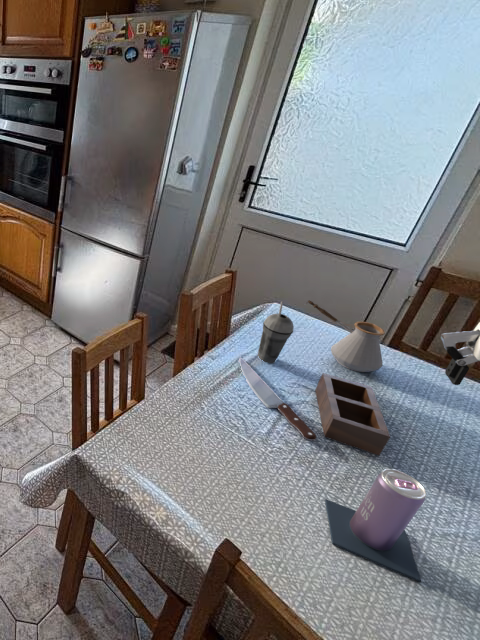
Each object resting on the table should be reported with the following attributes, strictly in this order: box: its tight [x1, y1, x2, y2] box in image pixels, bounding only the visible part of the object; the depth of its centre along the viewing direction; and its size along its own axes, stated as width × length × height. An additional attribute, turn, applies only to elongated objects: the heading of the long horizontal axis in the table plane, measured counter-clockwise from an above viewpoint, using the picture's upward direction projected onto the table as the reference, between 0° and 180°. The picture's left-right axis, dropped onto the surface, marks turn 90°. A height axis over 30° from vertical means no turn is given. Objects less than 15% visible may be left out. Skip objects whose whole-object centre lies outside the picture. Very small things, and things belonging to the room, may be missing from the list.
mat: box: [324, 498, 422, 583], centre depth 78 cm, size 12×10×1 cm
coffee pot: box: [303, 300, 386, 373], centre depth 123 cm, size 21×12×15 cm, turn 38°
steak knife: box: [238, 356, 317, 442], centre depth 111 cm, size 5×31×2 cm, turn 179°
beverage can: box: [350, 468, 427, 551], centre depth 74 cm, size 6×6×15 cm
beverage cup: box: [257, 301, 295, 364], centre depth 121 cm, size 7×7×20 cm
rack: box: [314, 372, 391, 456], centre depth 102 cm, size 18×10×6 cm, turn 148°
